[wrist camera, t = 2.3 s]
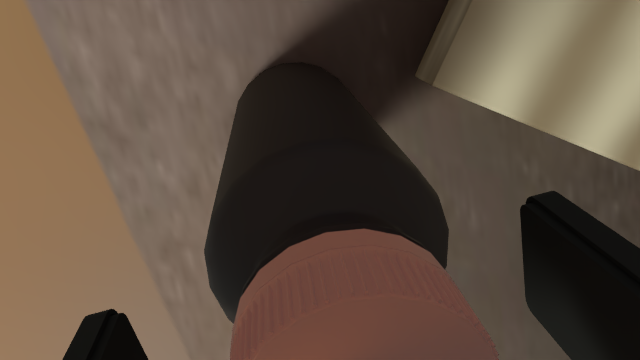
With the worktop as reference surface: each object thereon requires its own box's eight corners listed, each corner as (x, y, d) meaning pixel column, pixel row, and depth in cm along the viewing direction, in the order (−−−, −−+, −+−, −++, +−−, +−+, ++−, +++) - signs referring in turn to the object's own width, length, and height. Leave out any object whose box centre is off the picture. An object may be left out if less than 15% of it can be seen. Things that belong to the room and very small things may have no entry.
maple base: (751, -76, 25) (811, -84, 23) (608, 155, 30) (643, 172, 27) (542, -205, 22) (581, -233, 19) (414, 75, 26) (431, 85, 24)
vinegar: (289, 33, 25) (365, 147, 6) (378, 115, 27) (628, 377, 9) (209, 128, 26) (81, 449, 8) (300, 199, 28) (371, 581, 10)
